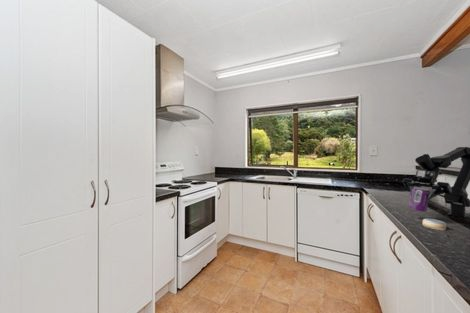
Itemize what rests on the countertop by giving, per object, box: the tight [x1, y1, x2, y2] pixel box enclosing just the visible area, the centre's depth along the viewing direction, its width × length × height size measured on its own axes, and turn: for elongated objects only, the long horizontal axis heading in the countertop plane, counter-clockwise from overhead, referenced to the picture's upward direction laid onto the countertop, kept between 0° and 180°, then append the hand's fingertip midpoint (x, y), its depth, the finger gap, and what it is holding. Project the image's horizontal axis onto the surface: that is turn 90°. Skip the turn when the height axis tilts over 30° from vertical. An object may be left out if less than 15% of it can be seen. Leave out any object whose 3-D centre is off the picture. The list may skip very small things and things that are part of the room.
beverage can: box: [408, 186, 431, 213], centre depth 105 cm, size 7×7×12 cm
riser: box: [422, 218, 447, 231], centre depth 95 cm, size 8×8×3 cm
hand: (419, 197), depth 104 cm, fingers closed on beverage can, 7 cm apart
